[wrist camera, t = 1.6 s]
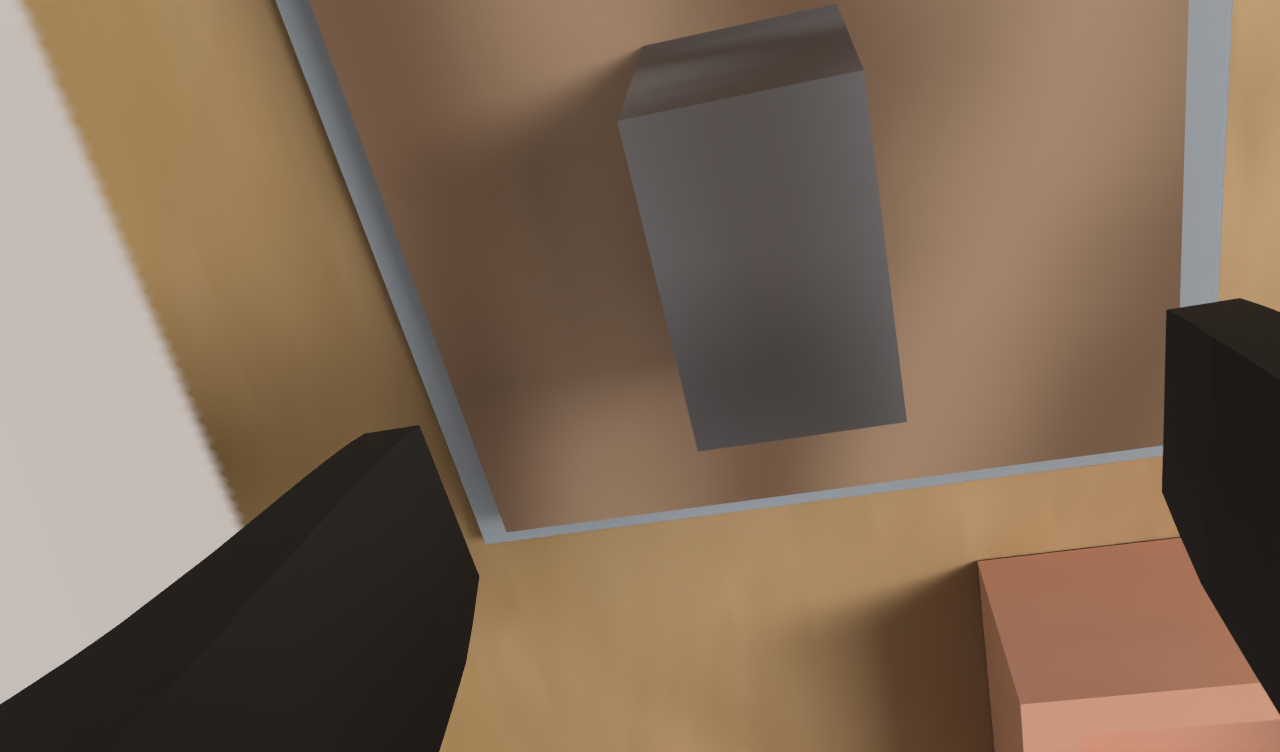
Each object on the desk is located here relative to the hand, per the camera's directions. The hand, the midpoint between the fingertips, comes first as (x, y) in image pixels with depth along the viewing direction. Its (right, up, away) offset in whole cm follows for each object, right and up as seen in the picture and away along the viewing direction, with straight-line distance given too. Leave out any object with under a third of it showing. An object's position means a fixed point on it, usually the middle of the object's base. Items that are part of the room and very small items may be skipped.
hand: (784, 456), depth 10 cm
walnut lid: (+1, +5, +8) cm, 9 cm away
